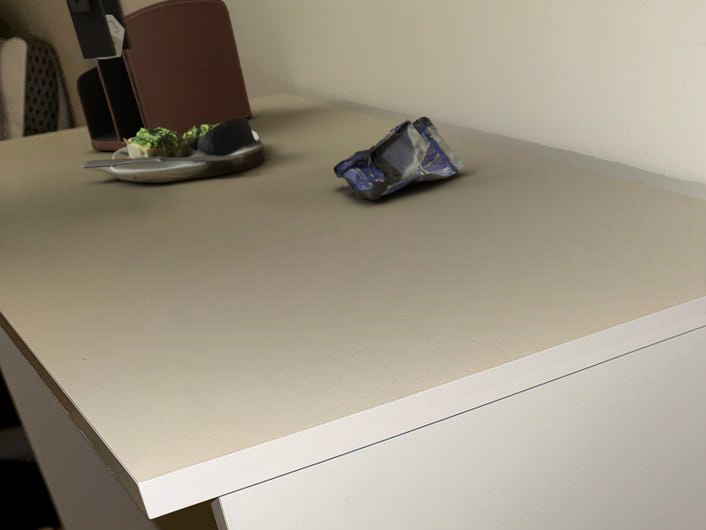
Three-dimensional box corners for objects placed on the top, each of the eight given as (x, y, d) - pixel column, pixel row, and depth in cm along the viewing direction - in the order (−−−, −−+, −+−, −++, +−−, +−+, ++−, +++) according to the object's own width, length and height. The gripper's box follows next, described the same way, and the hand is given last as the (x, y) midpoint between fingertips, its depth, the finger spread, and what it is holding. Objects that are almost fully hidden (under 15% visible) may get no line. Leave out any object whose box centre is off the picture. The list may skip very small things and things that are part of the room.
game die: (81, 60, 82) (68, 20, 80) (116, 53, 84) (105, 13, 82) (103, 61, 80) (91, 19, 78) (139, 53, 82) (128, 13, 80)
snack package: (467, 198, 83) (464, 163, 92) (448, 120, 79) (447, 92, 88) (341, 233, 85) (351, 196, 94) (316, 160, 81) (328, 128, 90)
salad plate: (81, 200, 94) (65, 150, 91) (93, 164, 108) (79, 120, 105) (271, 172, 97) (261, 123, 94) (259, 141, 111) (250, 97, 108)
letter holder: (253, 117, 124) (226, -11, 115) (154, 153, 110) (115, 11, 101) (195, 117, 127) (164, -7, 118) (92, 152, 114) (49, 14, 105)
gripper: (3, -353, 61) (120, 63, 75) (88, -312, 73) (174, 37, 88) (-108, -339, 61) (31, 72, 76) (-4, -301, 74) (97, 44, 89)
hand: (108, 52), depth 82 cm, fingers closed on game die, 4 cm apart
